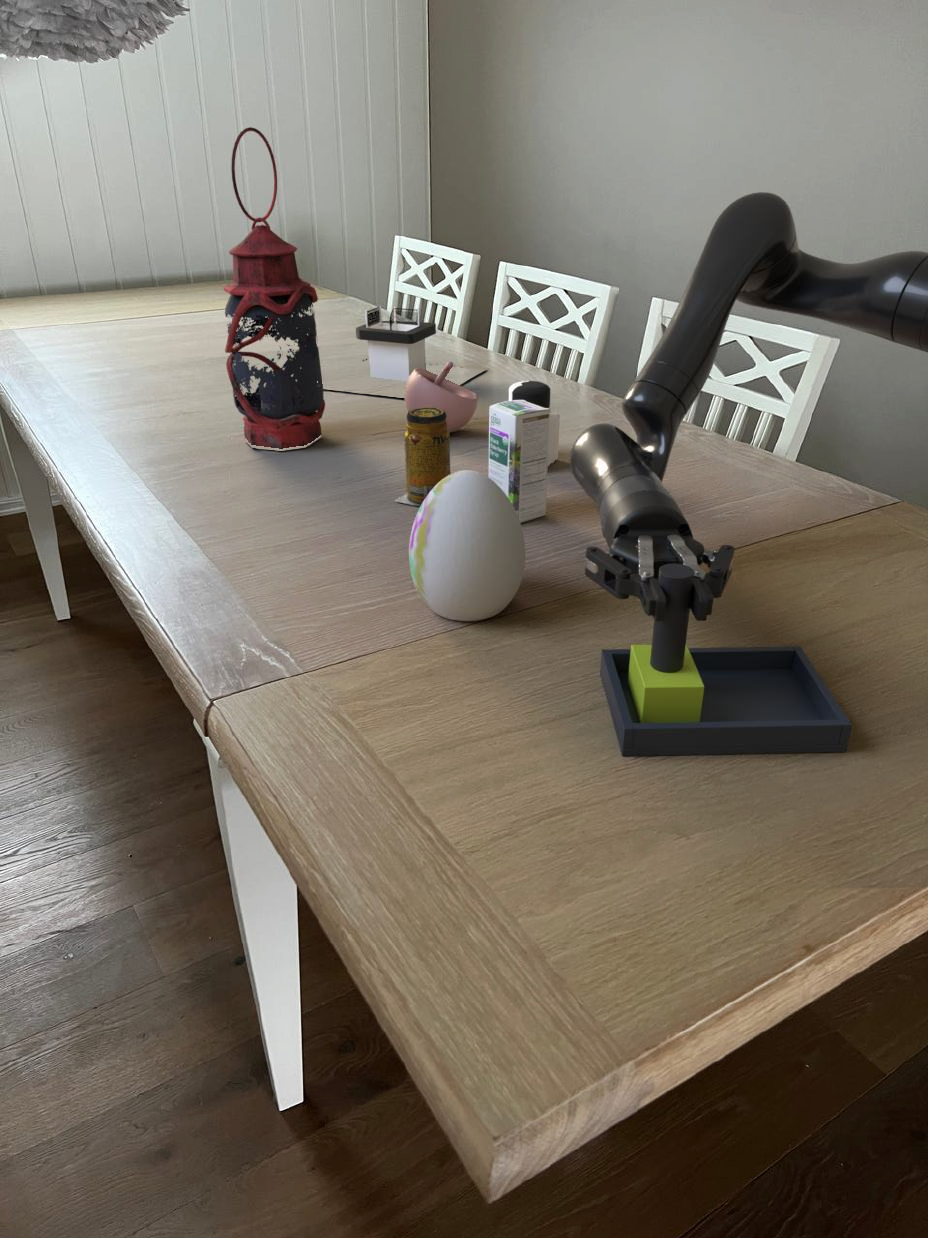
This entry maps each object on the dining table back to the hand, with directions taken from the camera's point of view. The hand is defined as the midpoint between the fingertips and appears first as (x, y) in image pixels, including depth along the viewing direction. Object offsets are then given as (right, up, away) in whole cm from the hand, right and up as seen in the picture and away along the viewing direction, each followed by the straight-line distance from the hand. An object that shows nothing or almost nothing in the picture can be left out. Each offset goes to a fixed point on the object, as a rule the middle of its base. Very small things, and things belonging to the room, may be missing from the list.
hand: (682, 610), depth 74 cm
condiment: (-22, +16, +53) cm, 60 cm away
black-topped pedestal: (-31, +47, +110) cm, 124 cm away
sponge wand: (0, -8, +8) cm, 11 cm away
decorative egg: (-17, +1, +26) cm, 31 cm away
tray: (+5, -9, +8) cm, 13 cm away
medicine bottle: (-8, +23, +66) cm, 70 cm away
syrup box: (-10, +13, +48) cm, 51 cm away
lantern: (-47, +28, +77) cm, 94 cm away
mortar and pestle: (-21, +30, +80) cm, 88 cm away
